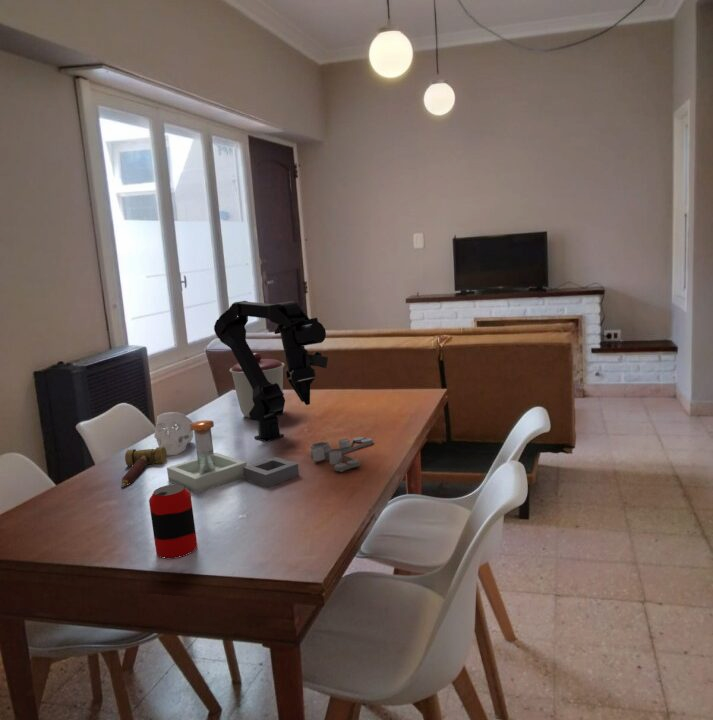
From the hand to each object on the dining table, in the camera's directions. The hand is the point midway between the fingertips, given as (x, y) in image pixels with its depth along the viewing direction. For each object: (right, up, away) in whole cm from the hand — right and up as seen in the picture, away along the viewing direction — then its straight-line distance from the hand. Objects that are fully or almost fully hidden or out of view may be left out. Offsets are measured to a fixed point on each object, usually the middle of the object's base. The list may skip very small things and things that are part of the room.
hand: (305, 403), depth 187 cm
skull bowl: (-39, -14, +10) cm, 42 cm away
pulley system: (+9, -14, -9) cm, 19 cm away
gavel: (-43, -18, -11) cm, 48 cm away
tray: (-23, -17, -19) cm, 34 cm away
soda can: (-20, -24, -58) cm, 66 cm away
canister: (-18, -7, +41) cm, 45 cm away
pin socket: (-7, -17, -22) cm, 28 cm away
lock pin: (-23, -16, -19) cm, 34 cm away
